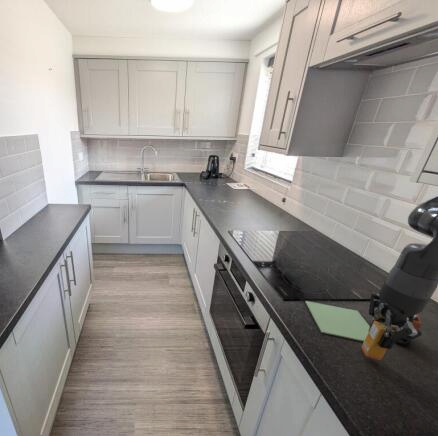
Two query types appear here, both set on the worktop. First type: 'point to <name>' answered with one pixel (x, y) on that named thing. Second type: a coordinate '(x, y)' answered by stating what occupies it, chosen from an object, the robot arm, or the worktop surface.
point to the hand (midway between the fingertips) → (378, 339)
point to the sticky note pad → (339, 321)
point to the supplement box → (374, 341)
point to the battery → (416, 325)
